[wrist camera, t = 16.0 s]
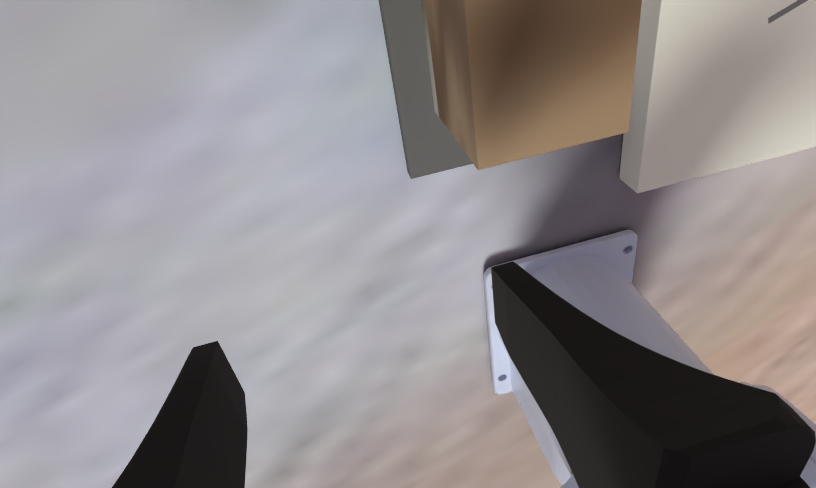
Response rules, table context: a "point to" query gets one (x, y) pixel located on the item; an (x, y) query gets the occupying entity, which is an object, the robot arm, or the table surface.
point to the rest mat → (416, 92)
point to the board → (719, 88)
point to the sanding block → (531, 73)
